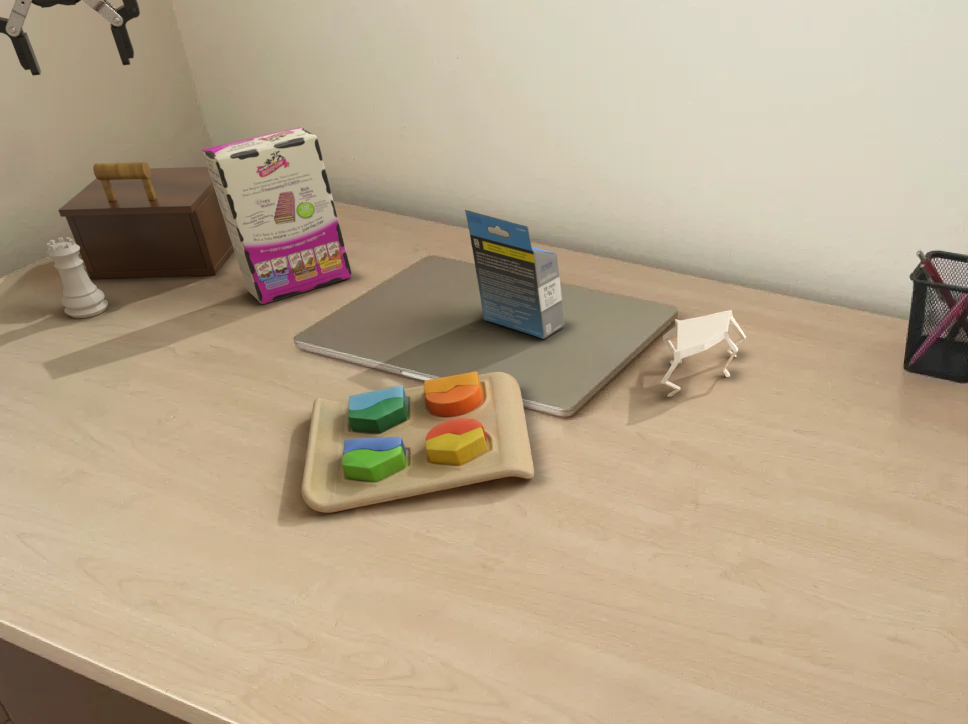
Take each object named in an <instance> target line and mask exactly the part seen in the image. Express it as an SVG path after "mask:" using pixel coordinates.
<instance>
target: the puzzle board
mask: <svg viewBox="0 0 968 724" xmlns="http://www.w3.org/2000/svg"><path fill="white" fill-rule="evenodd" d="M521 391H522V390H521V387H520V383H518V381H517V380H516V378H514V376H513V375H511V374H509V373H506V372H503V371H491V372H487V373H482V374H478V371H469V372H465V373H464V372H463V373H460V374H459V373H458V374H454V375H447V376H443V377H437V378H432V379H431V378H430V379H425V380H424V381H423V385H417V386H413V387H412V386H411V387H408V388H407V387H406V388H404V385H396V386H391V387H386V388H381V389H378V390H371V391H365V392H362V393H357V394H351V395H349V397H348V399H345V400H331V399H327V398H324V397H317V398H315V399H314V401H313V402H312V403H313V404H312V410H311V417H310V418H311V419H310V425H309V432H308V438H307V446H306V452H305V461H304V468H303V475H302V481H301V496H302V499H303V501H304V502H305V504H306V505H307V507H309V508H310V509H311V510H314V511H316V512H319V513H327V514H330V513H336V512H341V511H346V510H351V509H356V508H361V507H365V506H370V505H376V504H380V503H386V502H390V501H395V500H400V499H405V498H410V497H415V496H421V495H425V494H430V493H434V492H439V491H444V490H449V489H454V488H459V487H463V486H469V485H473V484H478V483H483V482H488V481H493V480H499V479H504V478H509V477H515V478H521V479H524V480H531V479H533V478H534V476H535V468H534V462H533V461H534V460H533V457H532V449H531V443H530V438H529V431H528V426H527V420H526V415H525V407H524V403H523V402H524V401H523V397H522V392H521Z"/></svg>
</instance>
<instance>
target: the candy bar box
mask: <svg viewBox="0 0 968 724" xmlns="http://www.w3.org/2000/svg"><path fill="white" fill-rule="evenodd" d="M201 151H202V155H203V158H204V161H205V165H206V167H208V171H209V174H210V177H211V180H212V183H213V186H214V189H215V192H216V195H217V199H218V202H219V205H220V208H221V211H222V214H223V217H224V221H225V224H226V227H227V230H228V233H229V236H230V239H231V242H232V245H233V249H234V252H233V253H234V255H235V258H236V261H237V264H238V267H239V270H240V273H241V277H242V279H243V283H244V285H245V288H246V291H247V292H248V294H250V295H251V296H252V297H253V298H255V299H256V301H258V302H259V303H260V304H261V305H266V304H269V303H272V302H275V301H278V300H283V299H285V298H288V297H292V296H295V295H299V294H302V293H306V292H309V291H313V290H315V289H318V288H321V287H326V286H328V285H331V284H335V283H338V282H341V281H345V280H348V279H350V278H353V273H352V270H351V264H350V261H349V257H348V254H347V249H346V246H345V242H344V238H343V233H342V230H341V225H340V221H339V218H338V215H337V214H338V213H337V210H336V206H335V203H334V198H333V194H332V191H331V186H330V182H329V178H328V174H327V171H326V166H325V163H324V159H323V154H322V150H321V146H320V143H319V139H318V135H315V134H314V133H312V132H310V131H308V130H307V129H305V128H304V127H301V126H299V127H295V128H291V129H286V130H282V131H276V132H272V133H267V134H263V135H258V136H254V137H250V138H244V139H240V140H236V141H232V142H228V143H227V142H226V143H223V144H219V145H215V146H209V147H206V148H202V149H201Z"/></svg>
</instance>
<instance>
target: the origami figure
mask: <svg viewBox="0 0 968 724" xmlns="http://www.w3.org/2000/svg"><path fill="white" fill-rule="evenodd" d="M674 323H675V324H674V325H675V326H674V327H672V328H671V329H670V330H669V331H667V332H666V333H665V334H663V335H662V340H663V343H664V344H665V345H666V347H667V348H668V349H669V351H670V353H671V354H672V355H673V359H672V360H670V361H669V364H670V367H669V369H668V370H667V372H666V374H664V376H663V378H662V379H661V381H660V384H662V385H665V386H667V387H669V388H670V389H671V388H672V389H673V390H672V391H671V392H669V393H668V394H667V398H671V397H673V396H674V395H675V394H677V393H678V392H679V391H680V390H681V387H680V386H679V385H677V384H675V383H673V382H671V381H669V380H668V379H669V378H670V376H671V375H672V373H673V372H674V371H675V369H676V367H677V366H678V365H679V364H682V363H683V362H682V361H683V359H684V358H687V357H690V356H693V355H696V354H699V353H702V352H705V351H706V350H708V349H710V348H712V347H713V346H715V345H717V344H718V343H720V342H722V341H723V340H725V341H726V342H727V345H729V347H728V348H727V349H726V353H727V354H729V355H730V356H729V358H728V359H727V361H726V363H725V365H724V366H723V368H722V372H723V374H724V376H725V377H726V378H729V377H730V376H731V374H730V372H729V370H728V369H727V367H728V366H729V365H730V363H731V362H732V360H733V359H734V358H737V357H738V356H737V353H738V352H739V347H738V345H739V344H741V343H742V342H744V340H746V338H747V335H746V334H745V333H744V330H742V328H741V327H740V325H739V323H738V322H737V320H736V319H735V317H734V316H733V309H729V310H723V311H719V312H714V313H711V314H706V315H701V316H697V317H692V318H687V319H686V318H685V319H678V318H677V319H676V318H675V319H674ZM729 327H731V328H732V329H733V330H734V332H736V334H737V335H738V337H739V338H738V339H737V340H736V341H734V342H733V341H732V339H731V338H730V336H729V335H730V334H729ZM675 337H676V338H677V341H676V343H677V345H676V346H677V348H675V346H674V344H673V343H672V341H671V340H672V339H674V338H675Z"/></svg>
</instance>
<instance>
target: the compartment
mask: <svg viewBox="0 0 968 724" xmlns="http://www.w3.org/2000/svg"><path fill="white" fill-rule="evenodd" d="M65 219H66V221H67V222H66V223H67V224H68V227H69V229H70V231H71V235H72V236H73V238H74V239H73V240H74V243H75V244H77V245H78V246H80V250H79V254H80V257H81V259H82V260H83V264H84V268H85V269H86V270H85V271H86V273H87V275H88V277H89V278H90V280H95V279H97V280H98V279H99V280H101V279H125V278H126V279H127V278H128V279H129V278H159V277H161V278H162V277H188V276H192V277H193V276H215V275H217V274H218V273H219V272H220V270H221V269H222V267H223V266H224V265H225V264H226V262H228V259H230V257H231V256H232V254H233V253H235V252H234V249H233V245H232V242H231V239H230V236H229V233H228V230H227V227H226V224H225V221H224V217H223V214H222V211H221V208H220V205H219V202H218V199H217V195H216V192H215V189H214V190H213V191H212V192H211V193H210V194H209V195H208V196H207V197H206V198H205V199H204V201H203V202H202V203H201V204H200V205H199V206H198V207H197V208H196V209H195V210H194V211H193V213H169V214H135V215H102V216H68V217H65Z"/></svg>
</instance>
